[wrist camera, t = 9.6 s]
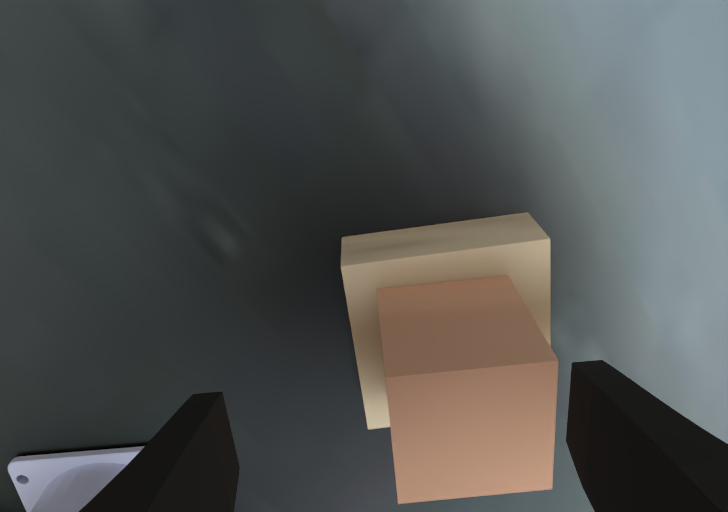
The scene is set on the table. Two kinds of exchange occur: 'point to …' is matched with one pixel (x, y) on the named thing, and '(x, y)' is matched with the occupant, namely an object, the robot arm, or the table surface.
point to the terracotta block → (467, 390)
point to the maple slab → (437, 279)
